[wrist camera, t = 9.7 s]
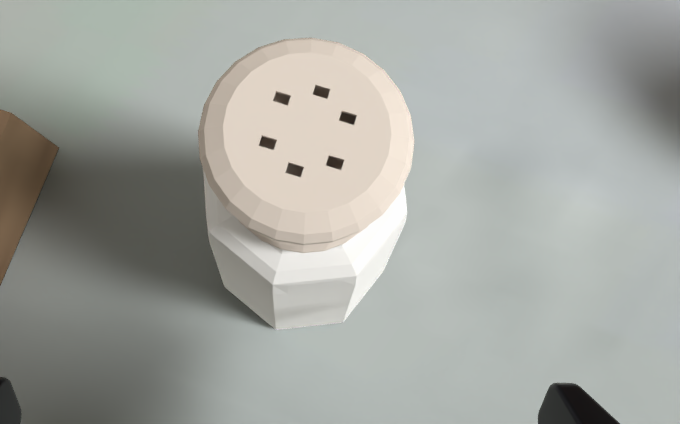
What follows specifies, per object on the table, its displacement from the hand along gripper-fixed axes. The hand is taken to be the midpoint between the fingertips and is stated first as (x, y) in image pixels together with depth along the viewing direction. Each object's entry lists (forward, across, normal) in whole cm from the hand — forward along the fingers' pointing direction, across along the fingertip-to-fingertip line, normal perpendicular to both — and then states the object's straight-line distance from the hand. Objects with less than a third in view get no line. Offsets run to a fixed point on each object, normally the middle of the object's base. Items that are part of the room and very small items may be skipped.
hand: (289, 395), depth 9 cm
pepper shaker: (+8, 0, +3) cm, 9 cm away
